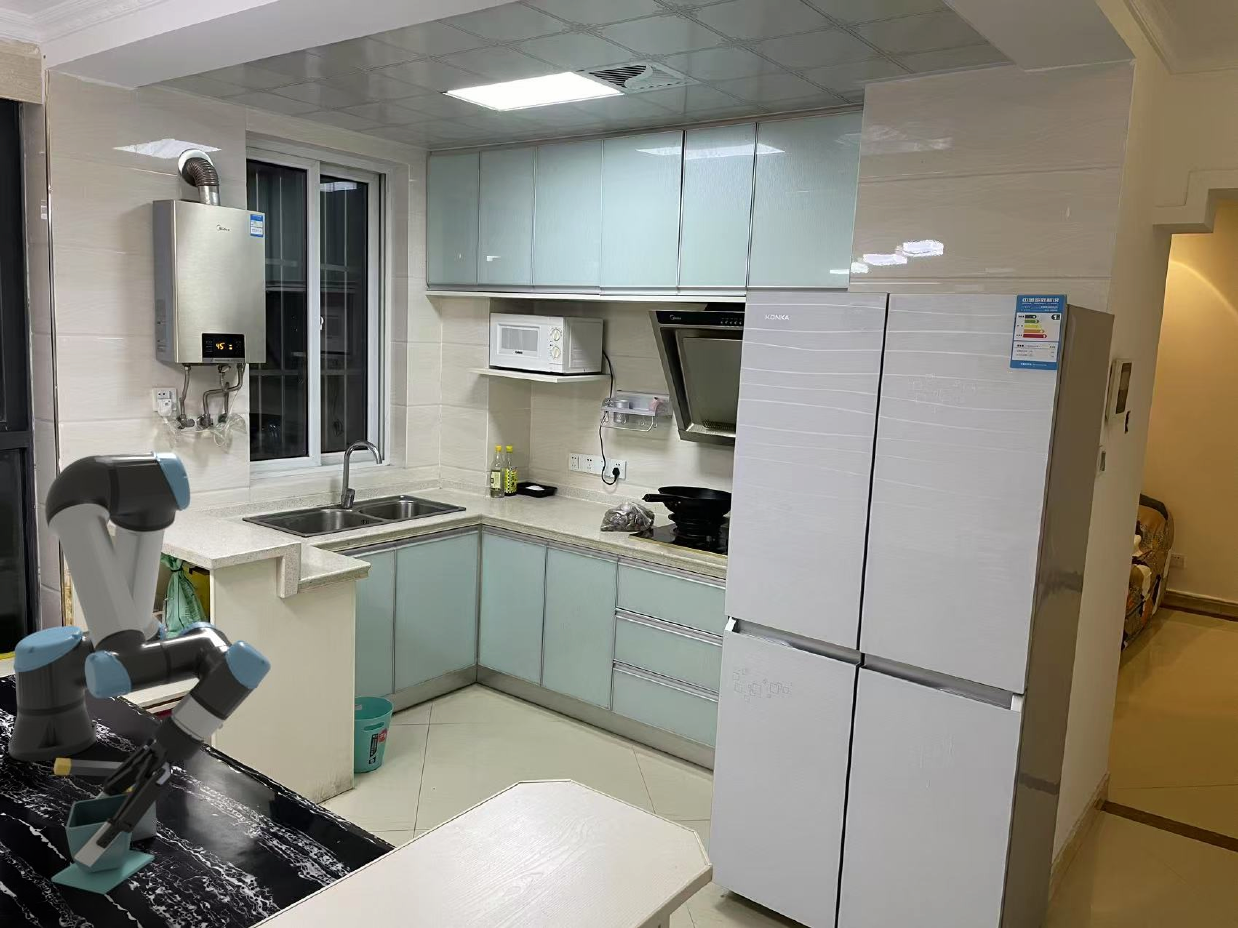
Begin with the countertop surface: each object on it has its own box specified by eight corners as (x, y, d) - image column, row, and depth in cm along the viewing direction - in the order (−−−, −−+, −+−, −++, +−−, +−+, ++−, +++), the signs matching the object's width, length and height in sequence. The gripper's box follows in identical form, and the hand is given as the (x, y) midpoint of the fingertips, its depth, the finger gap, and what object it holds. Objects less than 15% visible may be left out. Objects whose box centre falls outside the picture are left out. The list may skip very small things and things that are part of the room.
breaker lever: (134, 761, 161) (56, 756, 155) (136, 770, 158) (57, 766, 151) (131, 770, 161) (53, 765, 155) (134, 779, 158) (54, 775, 151)
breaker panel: (148, 806, 165) (146, 760, 163) (156, 835, 156) (154, 786, 154) (108, 815, 161) (106, 768, 160) (115, 845, 152) (112, 795, 151)
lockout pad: (104, 847, 152) (104, 844, 152) (154, 859, 149) (154, 855, 149) (51, 881, 142) (51, 877, 142) (103, 894, 139) (103, 890, 139)
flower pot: (67, 884, 140) (64, 828, 138) (75, 854, 148) (72, 801, 146) (133, 872, 143) (130, 818, 142) (137, 843, 151) (135, 791, 150)
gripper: (219, 766, 142) (106, 893, 136) (194, 715, 161) (94, 824, 154) (180, 741, 139) (63, 870, 132) (159, 691, 157) (55, 802, 150)
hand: (79, 845), depth 143 cm, fingers closed on flower pot, 9 cm apart
